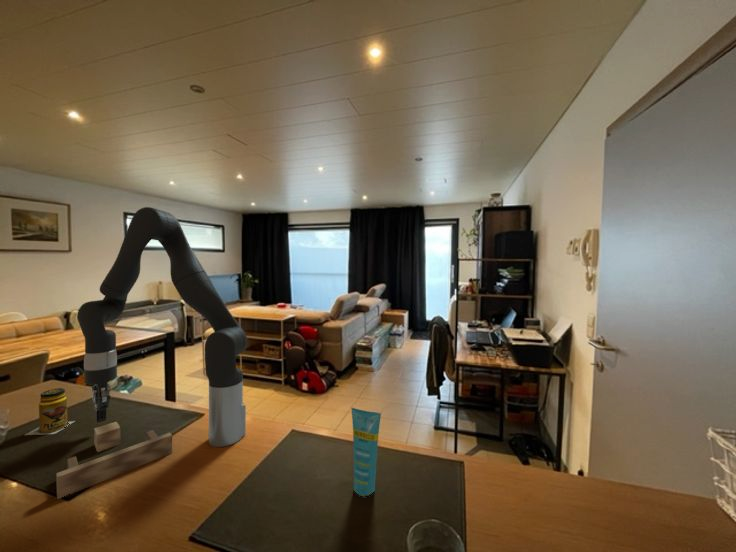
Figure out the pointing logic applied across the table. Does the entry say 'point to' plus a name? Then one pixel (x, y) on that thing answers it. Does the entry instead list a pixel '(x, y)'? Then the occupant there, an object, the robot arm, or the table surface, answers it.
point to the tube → (365, 449)
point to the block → (107, 436)
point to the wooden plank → (111, 464)
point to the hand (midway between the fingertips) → (101, 420)
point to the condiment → (52, 412)
